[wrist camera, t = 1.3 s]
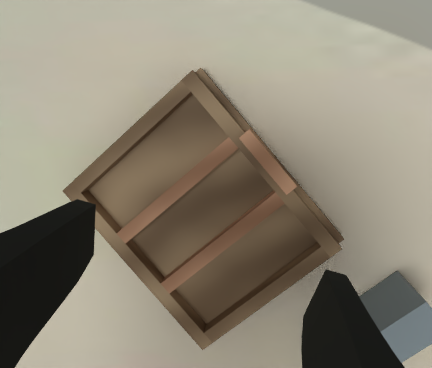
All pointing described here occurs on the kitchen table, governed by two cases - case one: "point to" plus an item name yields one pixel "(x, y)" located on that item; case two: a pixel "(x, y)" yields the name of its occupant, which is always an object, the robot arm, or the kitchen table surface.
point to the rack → (204, 211)
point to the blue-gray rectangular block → (400, 315)
